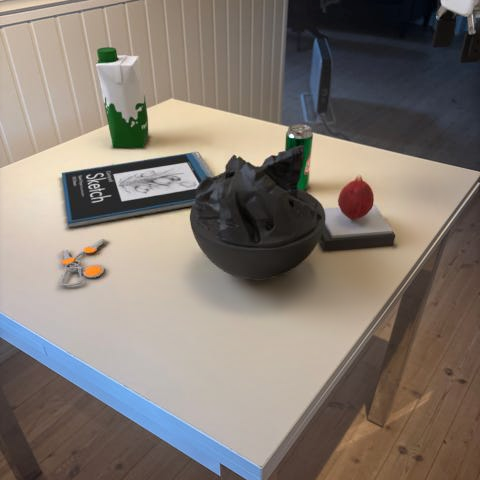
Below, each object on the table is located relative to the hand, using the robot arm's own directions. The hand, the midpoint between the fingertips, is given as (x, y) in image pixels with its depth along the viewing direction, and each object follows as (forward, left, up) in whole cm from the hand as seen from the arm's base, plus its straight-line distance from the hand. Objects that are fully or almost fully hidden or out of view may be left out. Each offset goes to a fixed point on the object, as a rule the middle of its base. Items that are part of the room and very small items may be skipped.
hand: (454, 53), depth 80 cm
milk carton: (+58, -35, -25) cm, 72 cm away
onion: (+17, +12, -23) cm, 31 cm away
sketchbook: (+55, -10, -25) cm, 61 cm away
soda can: (+24, -6, -25) cm, 35 cm away
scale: (+18, +12, -25) cm, 33 cm away
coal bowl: (+36, +20, -25) cm, 48 cm away
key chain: (+64, +15, -25) cm, 70 cm away
